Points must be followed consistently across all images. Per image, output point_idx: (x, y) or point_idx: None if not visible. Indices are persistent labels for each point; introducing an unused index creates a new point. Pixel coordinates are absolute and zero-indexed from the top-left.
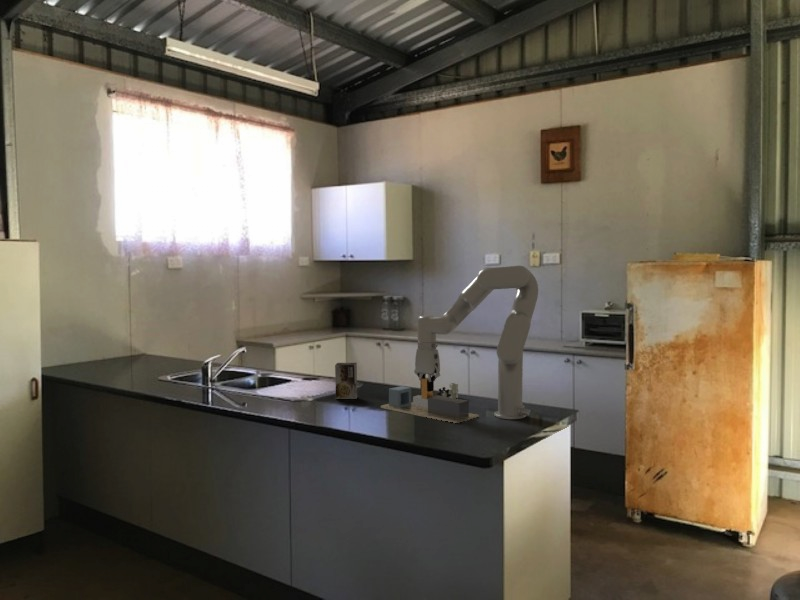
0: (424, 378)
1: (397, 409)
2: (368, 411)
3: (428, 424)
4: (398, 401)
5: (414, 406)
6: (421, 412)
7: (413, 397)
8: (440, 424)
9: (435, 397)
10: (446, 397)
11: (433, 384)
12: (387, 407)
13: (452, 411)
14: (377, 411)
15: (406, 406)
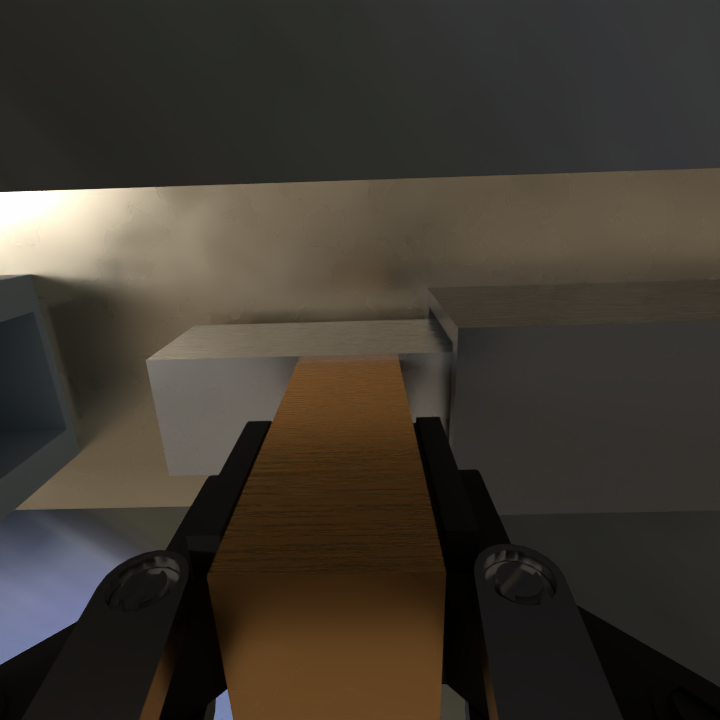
0: (283, 713)
1: (146, 505)
2: (19, 616)
3: (610, 604)
4: (45, 482)
5: (154, 338)
6: None
7: (180, 468)
8: (685, 558)
9: (528, 453)
10: (664, 357)
11: (497, 521)
12: (26, 506)
13: None
14: (57, 581)
15: (106, 390)
